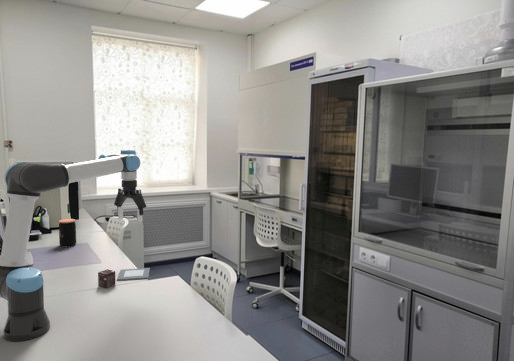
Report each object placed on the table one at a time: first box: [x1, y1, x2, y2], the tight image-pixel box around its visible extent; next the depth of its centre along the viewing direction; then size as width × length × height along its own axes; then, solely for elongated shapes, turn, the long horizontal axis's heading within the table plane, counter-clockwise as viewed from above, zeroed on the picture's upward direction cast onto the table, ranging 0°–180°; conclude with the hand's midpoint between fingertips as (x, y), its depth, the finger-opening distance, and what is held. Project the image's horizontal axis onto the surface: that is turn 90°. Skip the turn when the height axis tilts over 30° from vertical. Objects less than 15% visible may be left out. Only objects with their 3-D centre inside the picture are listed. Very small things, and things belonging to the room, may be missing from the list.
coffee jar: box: [58, 218, 77, 247], centre depth 265 cm, size 11×11×18 cm
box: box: [97, 269, 116, 289], centre depth 190 cm, size 6×6×7 cm
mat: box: [116, 267, 151, 282], centre depth 207 cm, size 16×16×1 cm
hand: (130, 220), depth 195 cm, fingers open, 13 cm apart
